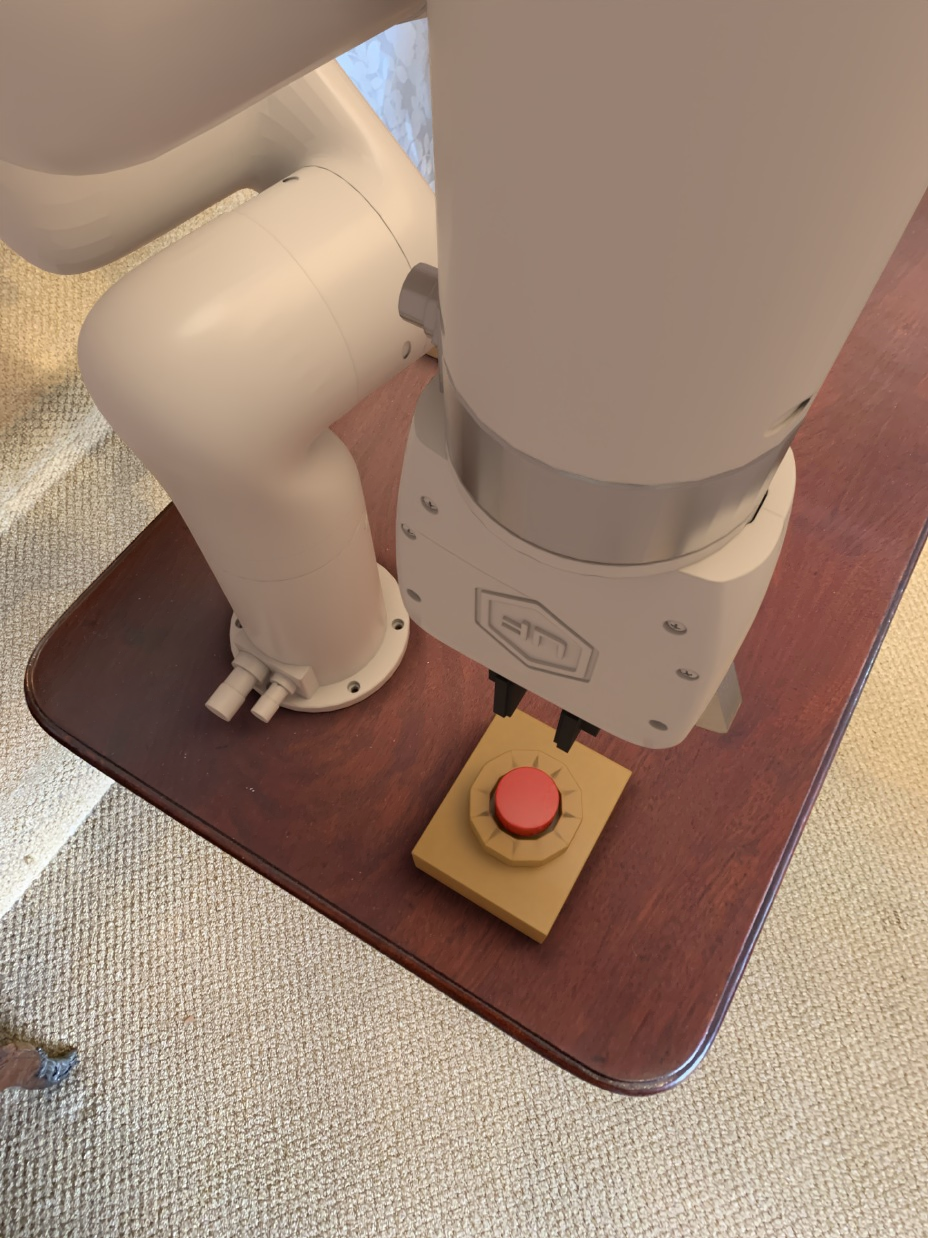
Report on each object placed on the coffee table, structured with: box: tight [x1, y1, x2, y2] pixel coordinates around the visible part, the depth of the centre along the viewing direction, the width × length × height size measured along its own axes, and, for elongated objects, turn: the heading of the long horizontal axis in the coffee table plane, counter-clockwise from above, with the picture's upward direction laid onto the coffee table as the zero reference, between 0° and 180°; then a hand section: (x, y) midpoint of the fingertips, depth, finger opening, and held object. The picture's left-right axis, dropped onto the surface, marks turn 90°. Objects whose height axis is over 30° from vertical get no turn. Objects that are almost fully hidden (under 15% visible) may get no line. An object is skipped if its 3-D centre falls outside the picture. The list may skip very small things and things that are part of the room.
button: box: [495, 767, 559, 836], centre depth 49 cm, size 4×4×2 cm
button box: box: [411, 707, 633, 945], centre depth 52 cm, size 11×9×6 cm
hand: (548, 701), depth 35 cm, fingers closed
